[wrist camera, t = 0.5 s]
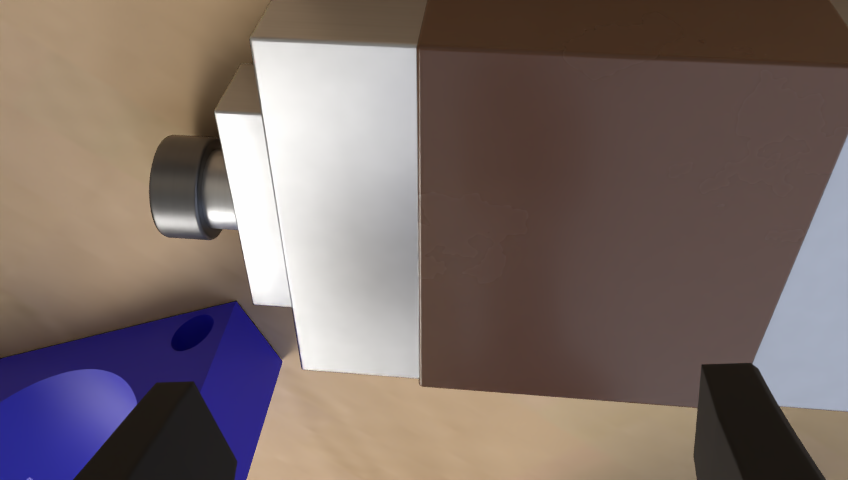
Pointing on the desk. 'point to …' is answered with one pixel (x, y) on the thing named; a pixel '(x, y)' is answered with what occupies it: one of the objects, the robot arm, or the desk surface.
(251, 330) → the cable clip
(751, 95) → the brown slab with knob
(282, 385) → the desk surface
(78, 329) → the desk surface
